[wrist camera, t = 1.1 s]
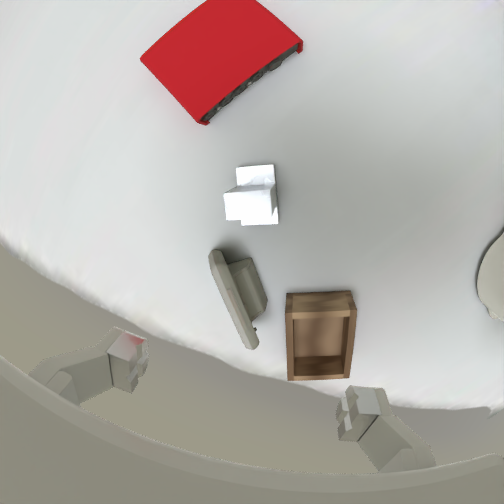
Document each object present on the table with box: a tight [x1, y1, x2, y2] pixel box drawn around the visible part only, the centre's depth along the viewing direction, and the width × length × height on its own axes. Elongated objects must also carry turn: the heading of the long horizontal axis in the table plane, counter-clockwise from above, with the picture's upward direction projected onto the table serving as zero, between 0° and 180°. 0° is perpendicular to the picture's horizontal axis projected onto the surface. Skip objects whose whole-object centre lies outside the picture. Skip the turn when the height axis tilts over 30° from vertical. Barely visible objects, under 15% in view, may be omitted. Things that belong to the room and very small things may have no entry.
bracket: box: [224, 164, 279, 226], centre depth 35 cm, size 5×8×10 cm, turn 5°
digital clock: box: [208, 250, 267, 350], centre depth 41 cm, size 14×8×9 cm, turn 9°
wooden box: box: [285, 291, 357, 381], centre depth 43 cm, size 10×13×6 cm
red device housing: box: [140, 0, 303, 125], centre depth 32 cm, size 18×14×5 cm
